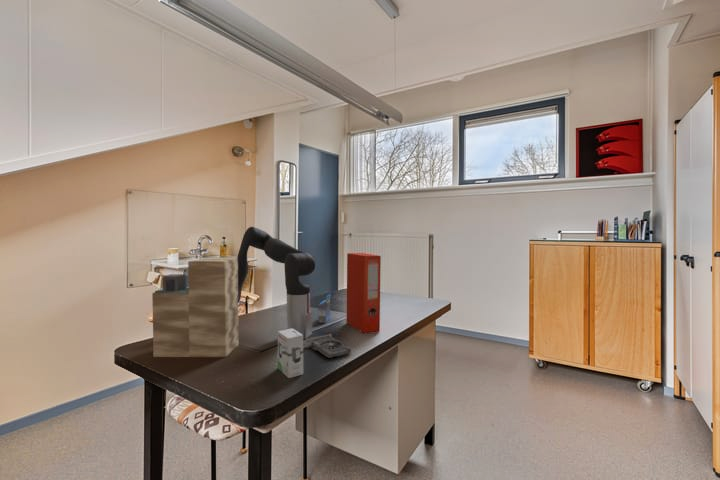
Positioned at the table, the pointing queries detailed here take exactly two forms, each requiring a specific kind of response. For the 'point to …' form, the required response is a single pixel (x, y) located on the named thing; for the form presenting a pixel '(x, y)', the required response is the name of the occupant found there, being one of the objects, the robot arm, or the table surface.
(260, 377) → the table surface
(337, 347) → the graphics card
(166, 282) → the plug bar
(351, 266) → the file binder
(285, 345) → the ink box
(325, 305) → the label tape cartridge
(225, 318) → the stand
